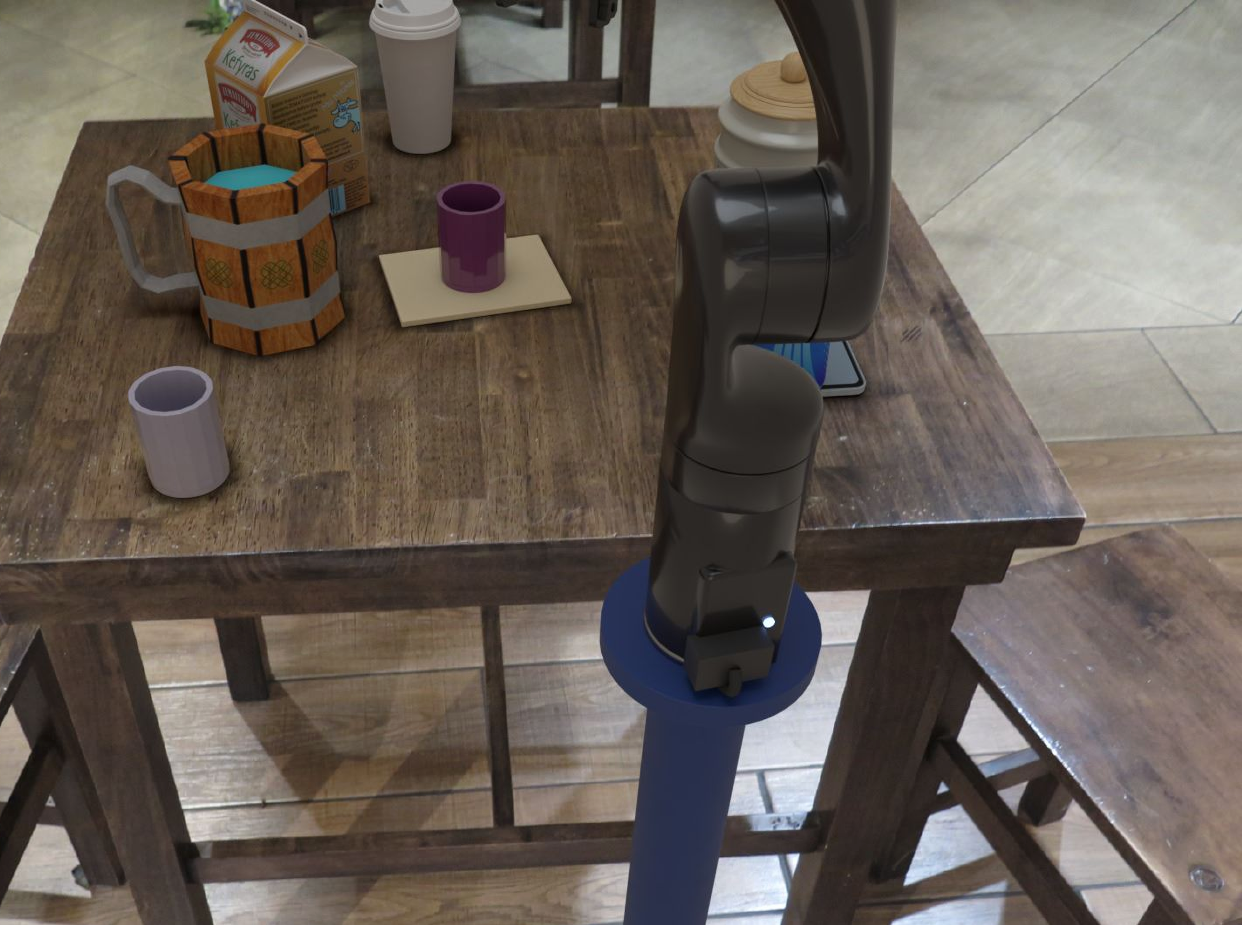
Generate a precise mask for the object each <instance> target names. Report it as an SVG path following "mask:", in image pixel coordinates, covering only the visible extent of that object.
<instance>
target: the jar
mask: <svg viewBox="0 0 1242 925" xmlns="http://www.w3.org/2000/svg"><path fill="white" fill-rule="evenodd" d="M729 94H730V95H729V96H728V97H726V98H725V99H724V100H723V101H722V102H721V103H720V105H719V107H718V109H717V118H718V120H719V123H720V125H721V130H720V133H719V135H718V136H717V137H716V138H715V140H714V142H713V152H714V161H713V168H712V169H720V168H748V167H750V168H752V167H786V166H809V167H810V166H817V161H818V136H817V123H816V114H815V108H814V102H813V96H812V92H811V88H810V84H809V80H808V76H807V73H806V70H805V67H804V65H803V62H802V59H801V57H800V54H799V51H791V52H789V53H788V54H786V55H785V56H784V57H783V59H780V60H779V59H778V60H777V59H776V60H771V61H765V62H762V63H759V64H757V65H755V66H754V67H752V68H751V69H749V70H746V71H744V72H742V73H740V74H738V75H737V76H735V78H734V79H732V81H731V83H730V86H729Z"/></svg>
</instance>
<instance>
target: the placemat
mask: <svg viewBox="0 0 1242 925" xmlns="http://www.w3.org/2000/svg"><path fill="white" fill-rule="evenodd" d="M506 256H507V269H506V278H505V280H504V282H503V283H502V284H501V285H500V286H498V287H497V288H495V289H492V290H490V291H486V292H481V293H465V292H459V291H456V290H453V289H451V288H449V287H447V286H446V285H445V284H444V283H443V282H442V280H441V272H440V264H439V246H438V247H431V248H423V249H417V250H409V251H402V252H392V253H386V254H385V253H384V254H379V255H378V261H379V264H380V267H381V270H382V272H383V275H384V279H385V282H386V284H387V287H388V291H389V293H390V297H391V299H392V303H393V305H394V308H395V311H396V315H397V317H398V320H399V323H400V326H401V328H407V327H415V326H420V325H429V324H435V323H443V322H450V321H456V320H463V319H471V318H476V317H477V318H479V317H484V316H490V315H491V316H492V315H499V314H506V313H507V314H508V313H514V312H521V311H527V310H533V309H541V308H548V307H556V306H563V305H570V304H572V295H571V294H570V292H569V290H568V288H567V287H566V285H565V283H564V281H563V279H562V277H561V275H560V273H559V271H558V269H557V268H556V266H555V264H554V262H553V260H552V258H551V256H550V255H549V253H548V250H547V248H546V246H545V244H544V243H543V242H542V239H541V237H540V235H539V234H531V235H524V236H517V237H516V236H515V237H506Z"/></svg>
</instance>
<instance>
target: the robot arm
mask: <svg viewBox="0 0 1242 925" xmlns="http://www.w3.org/2000/svg"><path fill="white" fill-rule="evenodd" d="M518 1H519V0H495V5H496V7H499V8H504V9H507V8H509V7H512V6H515V5H516V4H517V3H518ZM773 1H774V3H775V5H776V6H777V8H778V10H779V12H780V14H781V16H782V18H783V20H784V22H785V24H786V26H787V28H788V30H789V32H790V34H791V37H792V39H793V41H794V43H795V46H796V49H797V52H799V54H800V57H801V59H802V62H803V65H804V67H805V70H806V73H807V76H808V80H809V84H810V88H811V92H812V96H813V102H814V108H815V114H816V123H817V136H818V161H817V166H810V167H809V166H786V167H752V168H750V167H748V168H720V169H713V168H711V169H710V168H709V169H706V170H702V171H701V172H699V173H697V175H695V176H694V177H693V179H692V180H691V181H690V182H689V184H688V186H687V188H686V190H685V192H684V194H683V197H682V201H681V203H680V208H679V214H678V220H677V226H676V236H675V237H676V238H675V249H674V275H673V276H674V280H673V310H672V330H671V341H670V342H671V343H670V353H669V364H668V378H667V392H666V402H665V403H666V404H665V411H664V412H665V413H664V420H663V421H664V422H663V431H662V441H661V451H660V457H659V468H658V479H657V487H656V497H655V506H654V510H655V511H654V518H653V527H652V538H651V548H650V556H649V557H650V566H649V576H648V589H647V599H646V602H645V606H644V613H643V623H644V628H645V631H646V634H647V636H648V638H649V640H650V641H651V643H652V644H653V645H654V646H655V648H656V649H657V650H658V651H659V652H660V653H662V654H663V655H664V656H665V657H667V658H668V659H670V660H672V661H673V662H675V663H677V664H679V665H681V666H684V669H685V671H686V673H687V675H688V677H689V679H690V682H691V684H692V686H693V688H694V690H695V691H699V690H704V689H709V688H714V687H717V688H718V690H719V691H721V692H722V693H724V694H725V695H727V696H730V697H734V696H736V695H738V694H739V692H740V690H741V686H742V682H744V681H749V680H754V679H759V678H764V677H768V675H769V670H770V666H771V664H772V663H775V662H776V661H777V656H778V652H779V647H780V643H781V638H782V633H783V629H784V624H785V619H786V615H787V610H788V605H789V601H790V596H791V592H792V587H793V582H795V577H796V573H797V568H798V561H797V559H796V558H795V551H796V546H797V543H798V542H797V541H798V537H799V532H800V528H801V527H800V526H801V523H802V522H801V521H802V517H803V513H804V508H805V504H806V498H807V492H808V488H809V484H810V481H811V475H812V471H813V466H814V460H815V457H816V451H817V447H818V443H819V439H820V434H821V430H822V429H821V428H822V426H823V420H824V413H825V405H824V397H823V396H822V393H821V390H820V388H819V386H818V384H817V383H816V381H815V380H814V379H813V377H812V376H811V375H810V374H809V373H808V372H807V371H806V370H805V369H804V368H802V367H801V366H800V365H798V364H797V363H795V362H794V361H792V360H790V359H788V358H787V357H785V356H782V355H780V354H778V353H776V352H773V351H770V350H767V349H764V348H761V347H758V346H756V345H764V344H799V343H828V342H842V341H848V342H849V341H853V340H855V339H857V338H859V337H861V336H862V335H864V333H866V332H867V331H868V330H869V328H870V326H871V325H872V323H874V320H875V317H876V314H877V313H878V310H879V307H880V304H881V300H882V297H883V292H884V287H885V282H886V274H887V268H888V259H889V249H890V231H891V230H890V228H891V211H892V210H891V209H892V207H891V206H892V177H893V176H892V174H893V173H892V172H893V171H892V170H893V136H894V135H893V133H894V132H893V130H894V95H895V94H894V93H895V91H894V88H895V67H896V66H895V64H896V62H895V61H896V47H897V46H896V45H897V28H898V16H899V3H900V0H773ZM618 5H619V0H589V10H588V25H589V27H590V28H595V29H601V28H603V27H605V26H609V24H610V23H611V21H612V19H614V18H615V17H616V15H617V12H618Z"/></svg>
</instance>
